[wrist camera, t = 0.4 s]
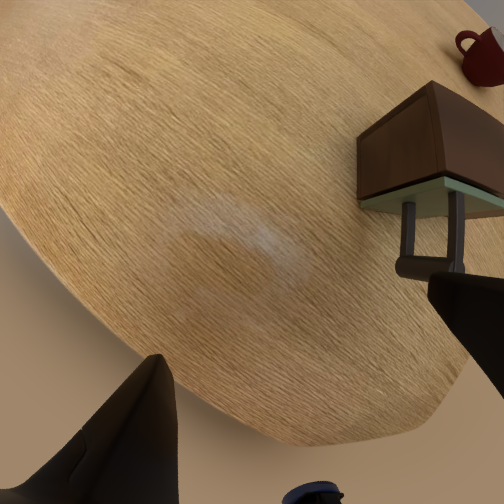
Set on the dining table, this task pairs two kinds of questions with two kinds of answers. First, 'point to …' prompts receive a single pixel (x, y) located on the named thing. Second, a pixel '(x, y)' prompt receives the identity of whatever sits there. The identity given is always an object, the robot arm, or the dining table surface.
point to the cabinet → (432, 147)
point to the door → (433, 205)
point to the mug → (483, 57)
